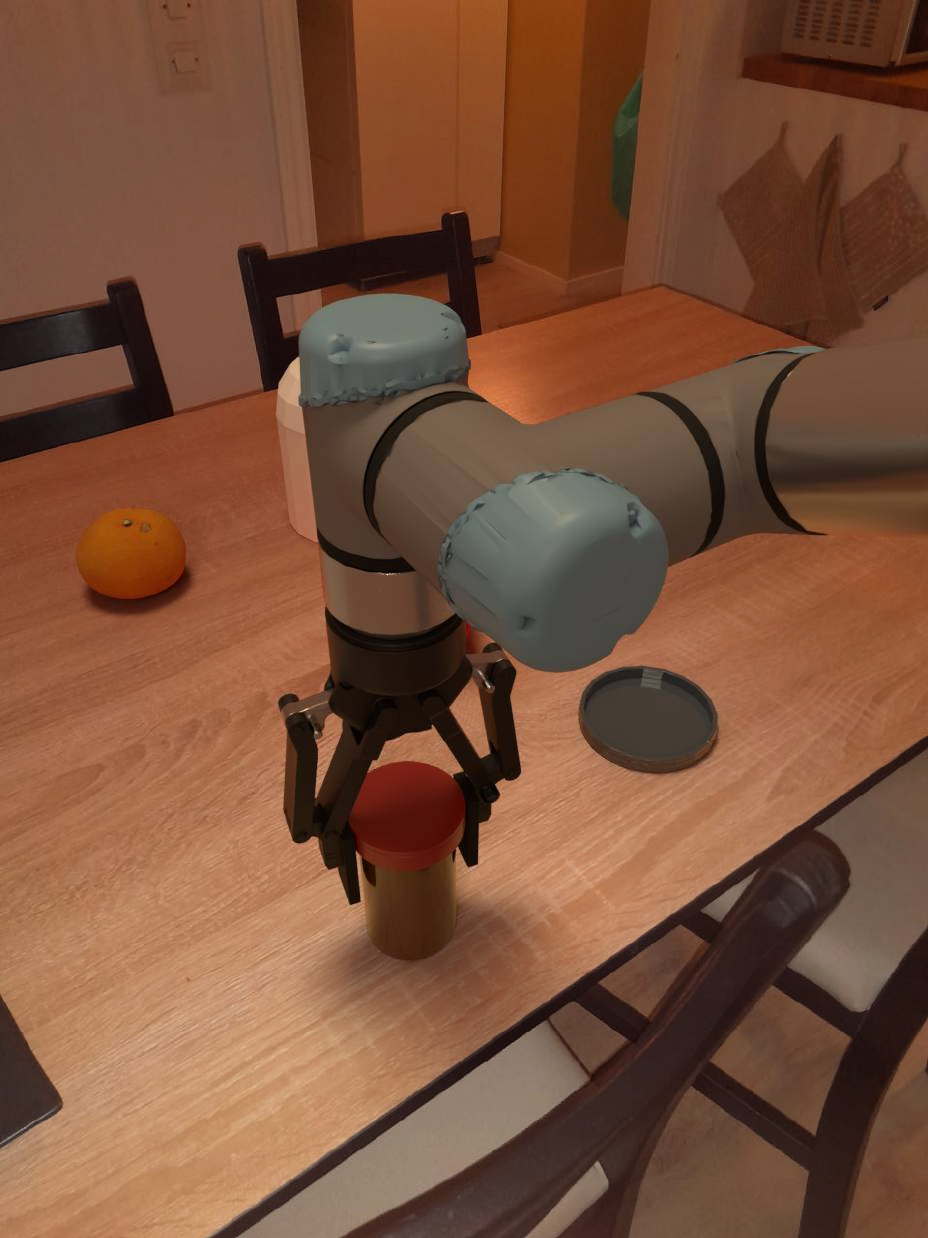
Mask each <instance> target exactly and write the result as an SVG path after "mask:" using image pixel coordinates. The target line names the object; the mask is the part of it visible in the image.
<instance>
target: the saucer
mask: <svg viewBox="0 0 928 1238" xmlns="http://www.w3.org/2000/svg"><path fill="white" fill-rule="evenodd" d="M577 714H578V723H579V728H580V731H581V734H582V735H583V738H584V739H585V740H586V742H587V743H588V744H589V746H590V747H591V748H592V749H593V750H594V751H595V752H596V753H597V754H599V755H601V757H603V758H604V759H606V760H608V761H610V762H612V763H613V764H616V765H618V766H620V767H624V768H626V769H629V770H633V771H638V772H643V773H657V774H659V773H668V772H675V771H679V770H683V769H686V768H688V767H691V766H692V765H694V764H696V763H698V762H699V761H700V760H702V759H703V758H704V757H705V756H706V755H707V754H708V753H709V751H710V750H711V748H712V746H713V743H714V741H715V740H716V737H717V731H718V722H719V721H718V719H719V714H718V712H717V709H716V707H715V704H714V702H713V700H712V698H711V697H710V696H709V695H708V694H707V693H706V691H704V690H703V689H702V687H701V686H700V685H699V684H697V683H695V682H693V680H690V679H689V678H687V677H686V676H684V675H682V674H679V673H676V672H674V671H671V670H668V669H666V668H660V667H654V666H649V665H632V666H631V665H630V666H621V667H617V668H613V669H611V670H607V671H604V672H603V673H601V674H600V675H598V676H597V677H595V678H594V679H591V681H590V682H589V683H588V684H587V686H586V687H585V688H584V690H583V691H582V693H581V697H580V701H579V706H578V713H577Z"/></svg>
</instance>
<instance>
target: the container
mask: <svg viewBox="0 0 928 1238" xmlns="http://www.w3.org/2000/svg"><path fill="white" fill-rule="evenodd" d="M300 393H301V388H300V362H299V356H297V357H296V358H295V359H294V360H292V362H290V364H289V365H288V367H287V369H286V370H285V371H284V374H283V375H282V377H281V378H280V380H279V382H278V388H277V395H276V396H277V397H276V408H275V417H276V423H277V430H278V440H279V446H280V455H281V462H282V471H283V479H284V486H285V497H286V503H287V511H288V518H289V523H290V525H291V527H292V528H293V529H294V531H295V532H296V533H297V534H298V535H300V536H301V537H304V538H305V539H307V540H310V541H311V542H313V543H318V538H317V528H316V520H315V512H314V504H313V496H312V487H311V479H310V471H309V462H308V454H307V446H306V437H305V429H304V421H303V412H302V407H300V406H299V402H298V396H299V395H300Z"/></svg>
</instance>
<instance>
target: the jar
mask: <svg viewBox="0 0 928 1238" xmlns="http://www.w3.org/2000/svg"><path fill="white" fill-rule="evenodd" d="M358 855H359V854H358ZM359 864H360V865H359V866H360V877H361V884H362V886H361V887H362V895H363V904H364V906H363V907H364V915H365V925H366V931H367V935H368V937H369V940H370V941H371V943H372V944H373V945H374V947H375V948H376V949H378V951H380V952H381V953H382V954H383V955H385V956H388V957H390V958H393V959H395V960H399V961H420V960H423V959H428V958H429V957H432V956H434V955H436V954H437V953H439V952H440V951H442V950H443V949H444V948H445V947H446V946H447V945H448V944H449V942H450V941H451V939H452V938H453V936H454V934H455V930H456V927H457V848H456V849H455V850H454V851H453V852H452V853H451V854H450V855H449V856H448V857H446V858H445V859H444V860H442V861H440V862H439V863H437V864H435V865H433V866H430V867H427V868H424V869H420V870H415V871H393V870H388V869H384V868H381V867H378V866H376V865H373V864H371V863H370V862H368V861H367V860H365V859H364V858H363V857H362V856H360V855H359Z"/></svg>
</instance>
